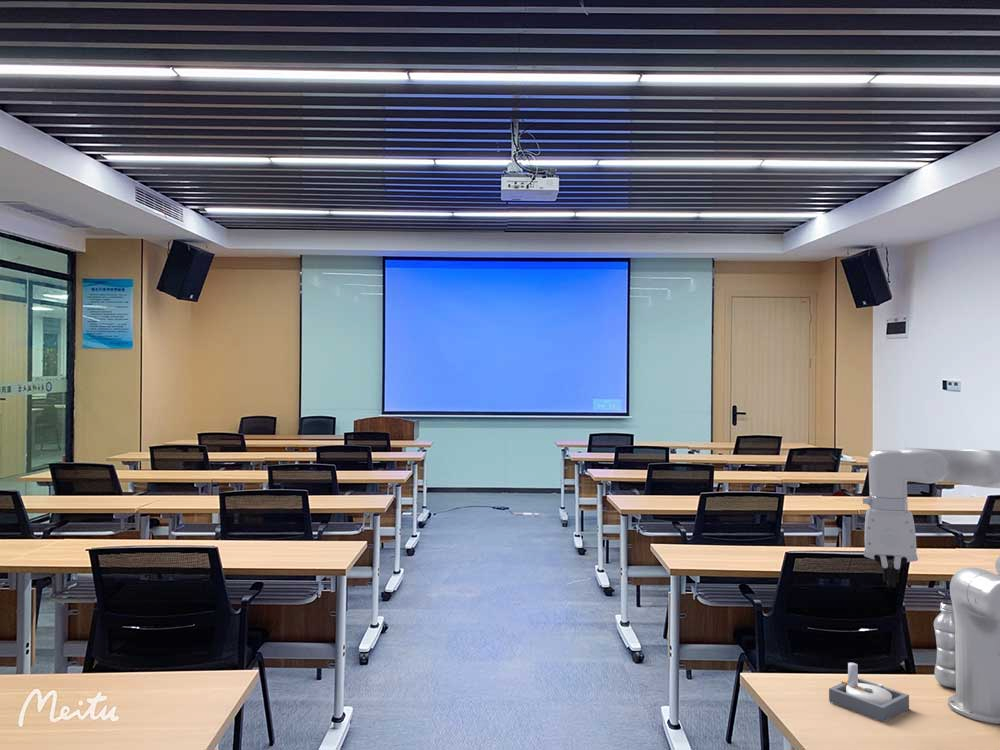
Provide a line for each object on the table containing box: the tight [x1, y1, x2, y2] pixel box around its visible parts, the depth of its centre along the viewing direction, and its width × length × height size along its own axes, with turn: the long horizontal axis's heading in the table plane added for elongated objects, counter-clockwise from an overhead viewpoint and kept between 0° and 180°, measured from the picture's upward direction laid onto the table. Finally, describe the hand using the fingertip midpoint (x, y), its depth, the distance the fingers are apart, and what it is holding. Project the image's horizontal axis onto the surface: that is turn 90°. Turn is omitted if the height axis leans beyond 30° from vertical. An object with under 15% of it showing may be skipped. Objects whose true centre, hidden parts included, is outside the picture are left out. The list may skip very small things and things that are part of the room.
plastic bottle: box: [933, 601, 956, 689], centre depth 166 cm, size 6×7×20 cm
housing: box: [828, 677, 910, 723], centre depth 154 cm, size 12×12×4 cm
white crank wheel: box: [846, 662, 892, 705], centre depth 154 cm, size 9×9×7 cm
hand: (891, 585), depth 154 cm, fingers closed
